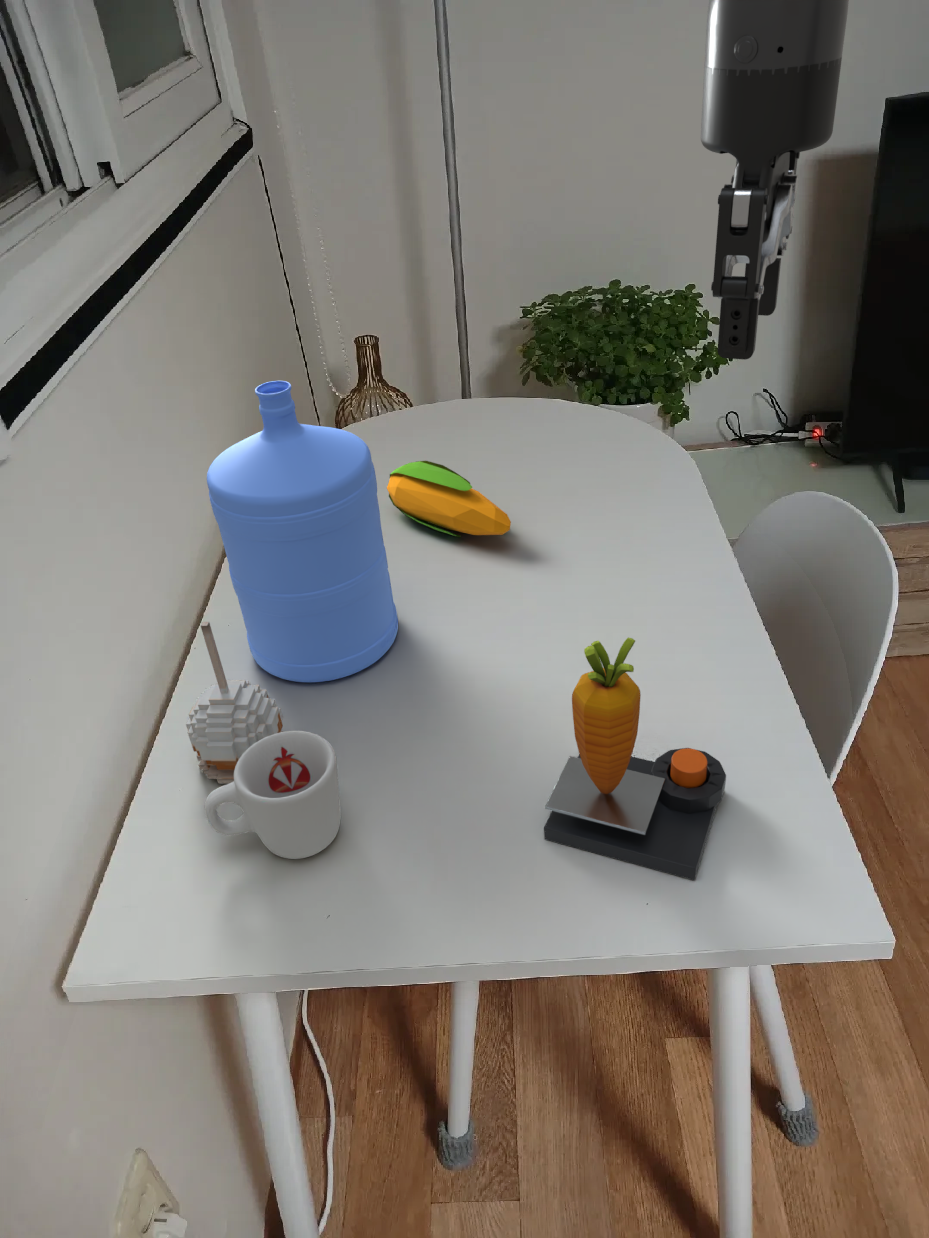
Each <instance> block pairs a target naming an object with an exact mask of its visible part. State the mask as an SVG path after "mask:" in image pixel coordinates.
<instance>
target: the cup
mask: <svg viewBox="0 0 929 1238" xmlns="http://www.w3.org/2000/svg"><path fill="white" fill-rule="evenodd" d="M338 774H339V773H338V763H337V757H336V752H335V750H334V748H333V746H332V744H331V743H330V742H329V741H328V740H327V739H326V738H324V737H323V736H321V735H319V734H316V733H314V732H310V731H305V730H286V731H283V732H280V733H276V734H273V735H270V736H268V737H265V738H263V739H261V740H259V741H258V742H256V743H254V744H253V745H252V746H251V747H249V748H248V749H247V750H246V751H245V752H244V753H243V754H242V756H241V757H240V759H239V760H238V762H237V764H236V766H235V770H234V781H233V782H231V783H225V784H224V785H222V786H219V787H217V788H215V789H213V790H212V791H211V792H210V793H209V794H208V795H207V797H206V799H205V802H204V812H205V813H204V814H205V816H206V819H207V822H208V824H209V825H210V827H211V828H212V829H213V831H215V832H217V833H219V835H223V836H236V835H241V834H245V833H250V832H252V833H255V834H256V835H257V837H259V839H260V840H261V842H262V843H263V845H264V847H266V848H267V850H269V851H270V852H271V853H272V854H274V855H276V856H278V857H281V858H283V859H289V860H299V859H304V858H309V857H312V856H315V855H316V854H318V853H320V852H322V851H323V850H324V849H326V848H327V847H329V845H330V844H331V843H332V842H333V841H334V840H335V838H336V837H337V835H338V832H339V831H340V826H341V820H342V819H341V816H342V814H341V813H342V811H341V800H340V787H339V775H338ZM227 803H233V804H235V805H237V806H238V807H239V808H240V809H241V810H242V814H241V816H240V817H238V818H235V819H233V820H232V819H231V820H227V819H225V818H223V817H221V816H220V815H219V813H218V811H217V808H219V806H220V805H222V804H227Z"/></svg>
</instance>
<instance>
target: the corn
mask: <svg viewBox="0 0 929 1238" xmlns="http://www.w3.org/2000/svg"><path fill="white" fill-rule="evenodd" d="M386 490H387V492H388V498H389V499H390V502H391V504H392V505H393V507H395V508H396V509H397V510H399V511H400V512H401V513H402V514H404V516H406V517H409V518H410V519H411V520H413V521H415V522H416V523H419V524H421V525H424V526H425V527H428V528H431V529H432V530H435V531H437V532H441V533H444V534H448V535H450V536H454V537H457V538H461V535H460V534H457V533H453V532H451V531H454V532H459V533H464V534H468V535H471V536H503V535H504V534H506V533H508V532H509V531H511V525H512V521H511V519H510V517H509V516H508V513H507V512H506V511H504V510H502V509H501V508H500V507H499V506H498V505H496V504H495V503H494V502H492V501H491V500H490V499H489V498H487V497H486V496H485V495H484V494H482V493H481V492H480V491H479V490H476V489H474V488H473V486H472V485H471V482H470V481H469V480H468V479H466V478H465V477H463V476H462V475H461V474H459V473H457V472H456V471H455V470H452V468H451V469H450V468H449V467H448V466H445V465H443V464H440V463H437V462H434V461H429V460H418V461H411V462H408V463H405V464H403V465H401V466H399V467H397V468H395V469H394V470H393V471H392V472H391V473H389V480H388V484H387V486H386ZM448 530H450V531H448Z"/></svg>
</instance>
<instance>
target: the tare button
mask: <svg viewBox="0 0 929 1238" xmlns="http://www.w3.org/2000/svg"><path fill="white" fill-rule="evenodd" d="M685 748H686V749H681V748H680V749H681V750H678V751H676V752H675V753H674V754H673V756H672V758H671V774H670V775H671V778H672V780H673V781H674V782H675V783H676V784H677V785H679V786H681V787H685V788H696V787H699V786H701V785H702V784H703V783H704V782H705V780H706V773H707V758H706V757H705V755H704V754H703V753H701V752H700V751H701V750H700V751H698V750H699V749H696V750H695V748H691V749H689V748H690V747H685Z"/></svg>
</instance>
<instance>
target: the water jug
mask: <svg viewBox="0 0 929 1238" xmlns="http://www.w3.org/2000/svg"><path fill="white" fill-rule="evenodd" d="M291 391H292V385H291V383H290V382H288V381H286V380H272V381H271V380H270V381H267V382H264V383H262V384H260V385H258V386H256V387H255V389H254V392H255V395H256V397H258V401H259V406H258V409H259V410H258V411H259V414H260V416H261V420H262V423H263V428H262V430H261V431H259V432H256V433H254V434H253V435H251V436H249V437H248V436H247V438H243V440H240V441H238V442H236V443H234V444H233V445H231V446H229V447H227V448H226V449H225V450H224V451H222V452H221V453H220V454H219V455H218V456H216V457H215V459H213V461H212V462H211V464H210V465H209V467H208V470H207V473H206V484H207V488H208V496H209V502H210V506H211V509H212V514H213V516H214V519H215V521H216V523H217V526H218V529H219V532H220V536H221V540H222V544H223V547H224V552H225V556H226V560H227V563H228V571H229V577H230V580H231V583H232V588H233V590H234V593H235V595H236V597H237V600H238V604H239V608H240V612H241V615H242V618H243V621H244V626H245V629H246V630H245V631H246V639H247V643H248V647H249V650H250V654H251V656H252V658H253V660H254V662H255V663H256V664H257V665H258V666H259V667H260V668H261V669H263V670H264V671H265V672H267V673H268V674H270V675H272V676H274V677H277V678H280V679H282V680H287V681H290V682H297V683H322V682H328V681H335V680H339V679H342V678H346V677H349V676H352V675H354V674H356V673H357V674H358V673H359V672H361V671H363V670H365V669H367V668H369V667H370V666H372V665H373V664H374V663H377V662H378V661H379V660H380V659H381V658H383V656H384V655H385V654H387V652H388V651H389V650H390V648H391V647H392V645H393V644H394V642H395V640H396V637H397V634H398V631H399V619H398V612H397V607H396V603H395V601H394V596H393V589H392V588H393V587H392V583H391V577H390V576H391V575H390V572H389V563H388V558H387V552H386V550H387V549H386V546H385V542H384V537H383V529H382V522H381V513H380V505H379V504H380V503H379V499H378V482H377V476H376V475H377V474H376V470H375V465H374V463H373V460H372V453H371V450H370V447H369V445H367V443H366V442H365V441H364V440H363V439H362V438H361V437H360V436H358V435H356V434H354V433H353V432H350V431H348V430H344V429H341V428H337V427H331V426H321V425H314V424H312V425H311V424H305V423H300V422H299V421H298V418H297V414H296V405H295V403H296V402H295V401H294V400H293V398H292V394H291Z"/></svg>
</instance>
